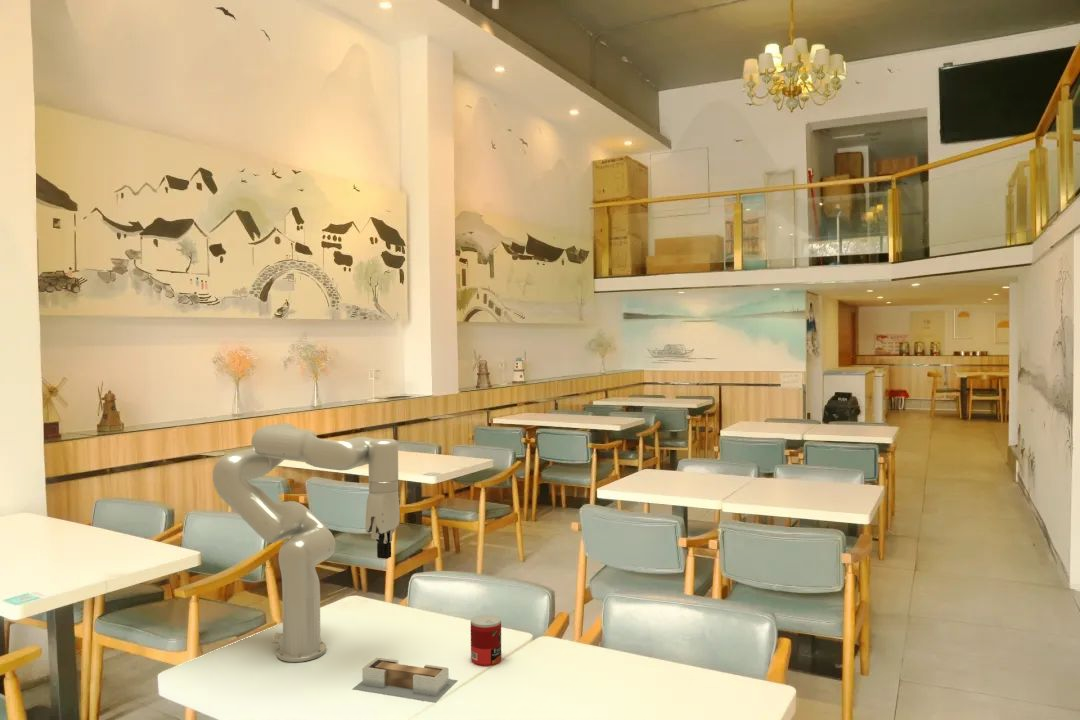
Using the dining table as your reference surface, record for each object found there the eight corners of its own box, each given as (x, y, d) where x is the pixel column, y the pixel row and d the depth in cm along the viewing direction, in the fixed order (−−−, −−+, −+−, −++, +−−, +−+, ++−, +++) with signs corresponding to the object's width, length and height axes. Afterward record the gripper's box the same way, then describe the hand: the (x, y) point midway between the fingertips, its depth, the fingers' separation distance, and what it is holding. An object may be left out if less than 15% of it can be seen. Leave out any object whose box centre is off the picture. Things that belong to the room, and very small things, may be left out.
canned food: (497, 669, 187) (497, 625, 187) (467, 666, 189) (466, 623, 189) (504, 656, 195) (504, 615, 195) (475, 654, 197) (475, 613, 196)
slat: (374, 683, 179) (374, 666, 179) (381, 677, 182) (381, 661, 182) (434, 692, 174) (434, 675, 174) (440, 686, 177) (440, 670, 177)
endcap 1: (362, 684, 178) (362, 668, 178) (376, 673, 184) (376, 657, 184) (384, 688, 176) (384, 671, 176) (398, 676, 182) (398, 660, 182)
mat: (351, 690, 176) (351, 689, 176) (378, 669, 187) (378, 668, 187) (435, 704, 169) (435, 702, 169) (457, 681, 180) (457, 680, 180)
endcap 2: (448, 684, 178) (448, 667, 178) (436, 696, 172) (436, 679, 172) (426, 681, 180) (426, 664, 180) (413, 693, 174) (412, 676, 174)
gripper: (385, 481, 200) (386, 549, 200) (355, 491, 186) (355, 564, 186) (410, 482, 198) (411, 551, 198) (381, 493, 183) (382, 567, 184)
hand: (384, 557), depth 192 cm, fingers closed
